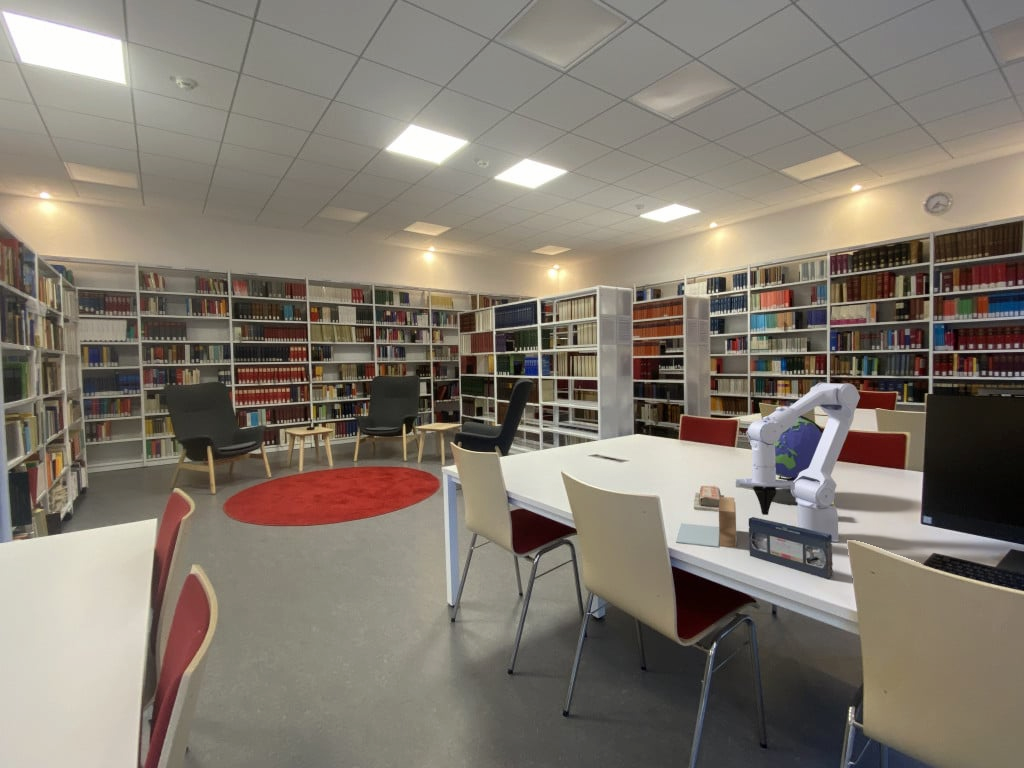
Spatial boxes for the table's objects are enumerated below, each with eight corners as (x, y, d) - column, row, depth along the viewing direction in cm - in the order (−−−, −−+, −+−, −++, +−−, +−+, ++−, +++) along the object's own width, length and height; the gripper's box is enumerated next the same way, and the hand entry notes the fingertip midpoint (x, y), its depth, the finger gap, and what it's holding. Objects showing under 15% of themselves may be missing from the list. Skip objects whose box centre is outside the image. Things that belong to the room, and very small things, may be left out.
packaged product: (694, 484, 178) (723, 485, 174) (695, 496, 178) (724, 498, 174) (693, 497, 161) (725, 499, 157) (693, 511, 162) (725, 513, 158)
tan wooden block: (736, 531, 140) (735, 497, 140) (736, 548, 128) (735, 511, 127) (720, 529, 142) (719, 496, 142) (719, 546, 130) (718, 510, 129)
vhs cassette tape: (748, 556, 123) (747, 518, 122) (754, 553, 124) (753, 515, 124) (827, 580, 108) (827, 537, 107) (833, 577, 109) (832, 534, 109)
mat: (719, 527, 143) (719, 526, 143) (718, 547, 129) (718, 546, 129) (681, 524, 148) (681, 523, 148) (675, 542, 133) (675, 541, 133)
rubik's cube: (834, 521, 145) (834, 503, 144) (813, 519, 147) (812, 502, 147) (831, 516, 149) (831, 498, 149) (811, 514, 152) (810, 497, 152)
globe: (775, 486, 185) (774, 410, 183) (839, 498, 166) (837, 414, 165) (742, 497, 173) (740, 416, 171) (807, 512, 154) (805, 420, 153)
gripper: (790, 462, 132) (791, 510, 132) (733, 461, 136) (734, 507, 137) (796, 468, 125) (797, 518, 125) (736, 466, 130) (737, 515, 130)
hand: (764, 513), depth 131 cm, fingers closed
